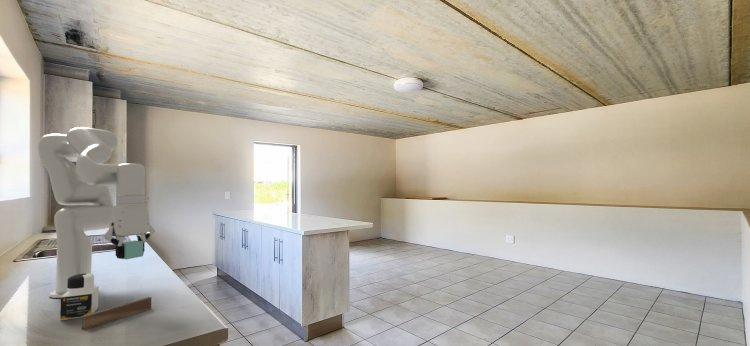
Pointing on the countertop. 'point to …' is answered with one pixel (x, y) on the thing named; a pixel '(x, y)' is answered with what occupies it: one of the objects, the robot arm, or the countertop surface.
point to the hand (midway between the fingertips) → (130, 255)
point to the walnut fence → (115, 313)
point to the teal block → (133, 249)
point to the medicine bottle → (79, 297)
